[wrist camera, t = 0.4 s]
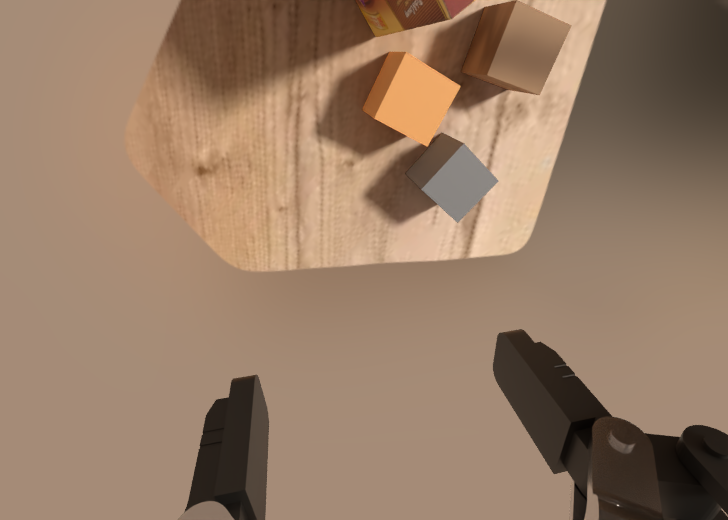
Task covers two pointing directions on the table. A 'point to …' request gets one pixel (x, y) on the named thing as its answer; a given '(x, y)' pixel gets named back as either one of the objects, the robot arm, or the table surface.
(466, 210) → the gray cube
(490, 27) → the walnut block
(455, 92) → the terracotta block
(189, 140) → the table surface
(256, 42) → the table surface
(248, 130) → the table surface
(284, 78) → the table surface
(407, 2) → the candy box
